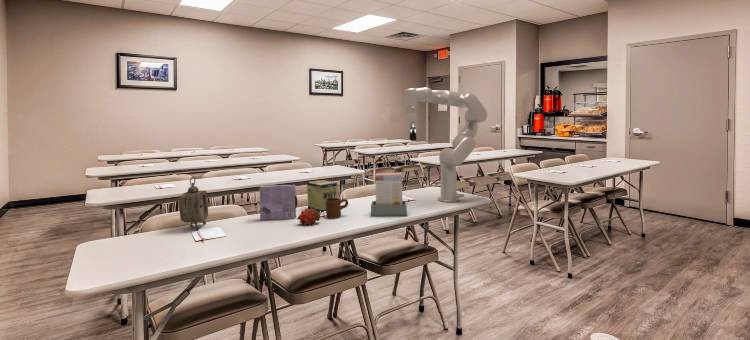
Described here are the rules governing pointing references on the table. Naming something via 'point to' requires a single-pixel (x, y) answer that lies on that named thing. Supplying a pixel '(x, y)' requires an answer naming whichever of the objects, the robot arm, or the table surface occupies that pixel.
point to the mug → (335, 207)
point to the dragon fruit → (309, 216)
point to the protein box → (320, 194)
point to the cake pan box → (278, 202)
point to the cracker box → (388, 188)
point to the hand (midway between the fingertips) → (413, 140)
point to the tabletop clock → (193, 205)
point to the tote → (389, 209)
